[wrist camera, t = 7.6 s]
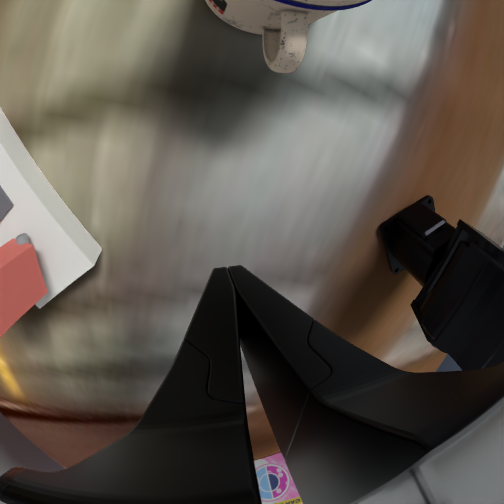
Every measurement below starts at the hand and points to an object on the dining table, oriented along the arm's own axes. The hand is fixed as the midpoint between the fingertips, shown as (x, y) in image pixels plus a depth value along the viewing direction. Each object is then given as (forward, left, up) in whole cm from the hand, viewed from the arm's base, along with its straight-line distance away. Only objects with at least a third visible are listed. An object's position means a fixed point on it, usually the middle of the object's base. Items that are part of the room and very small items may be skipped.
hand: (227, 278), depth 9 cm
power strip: (+12, +15, -13) cm, 23 cm away
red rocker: (+3, +15, -10) cm, 18 cm away
